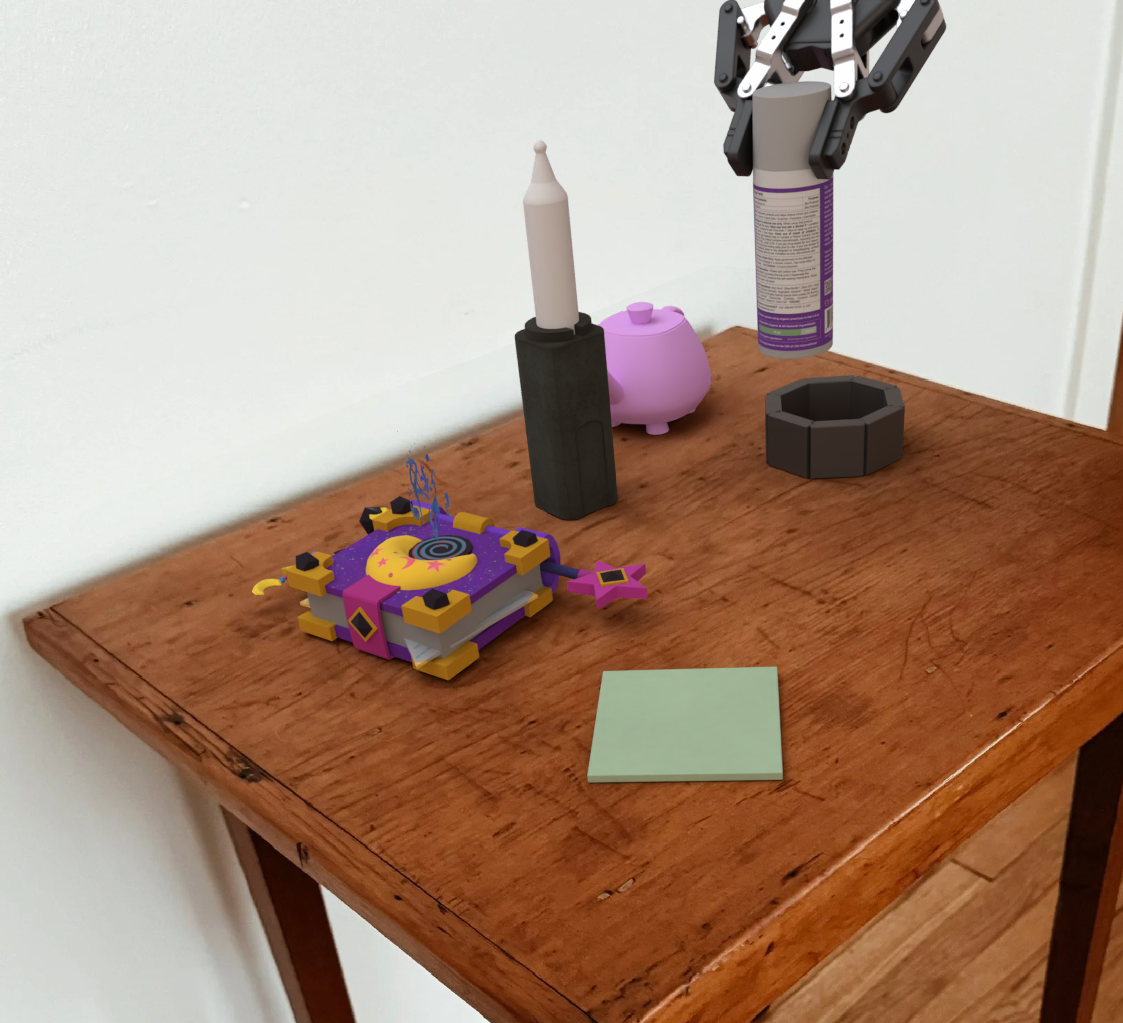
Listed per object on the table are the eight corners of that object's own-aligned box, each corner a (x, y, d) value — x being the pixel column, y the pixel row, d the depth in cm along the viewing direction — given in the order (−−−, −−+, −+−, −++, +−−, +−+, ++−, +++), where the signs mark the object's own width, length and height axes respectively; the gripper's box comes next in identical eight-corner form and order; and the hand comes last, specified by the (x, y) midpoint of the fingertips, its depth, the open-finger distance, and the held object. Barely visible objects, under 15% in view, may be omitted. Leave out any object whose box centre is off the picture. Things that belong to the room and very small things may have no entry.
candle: (568, 523, 93) (529, 152, 79) (528, 502, 97) (483, 144, 83) (624, 500, 95) (595, 136, 82) (583, 480, 99) (548, 128, 85)
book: (383, 532, 95) (351, 370, 88) (672, 609, 82) (661, 425, 75) (233, 623, 86) (185, 450, 79) (531, 727, 72) (504, 528, 66)
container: (792, 329, 85) (788, 79, 77) (848, 342, 82) (850, 82, 74) (742, 350, 83) (733, 95, 75) (798, 364, 80) (794, 99, 71)
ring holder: (893, 421, 102) (895, 372, 100) (907, 474, 94) (909, 422, 92) (764, 428, 104) (764, 379, 102) (767, 481, 96) (766, 429, 93)
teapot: (739, 395, 110) (736, 284, 105) (651, 464, 100) (643, 345, 95) (633, 382, 115) (625, 275, 110) (540, 446, 105) (526, 333, 100)
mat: (777, 673, 74) (777, 666, 74) (782, 780, 66) (782, 772, 66) (603, 677, 76) (602, 670, 76) (587, 783, 68) (587, 775, 67)
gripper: (736, -135, 77) (644, 130, 76) (975, -161, 69) (876, 133, 68) (779, -45, 83) (695, 201, 82) (1002, -59, 76) (912, 211, 74)
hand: (778, 169), depth 75 cm, fingers closed on container, 4 cm apart
